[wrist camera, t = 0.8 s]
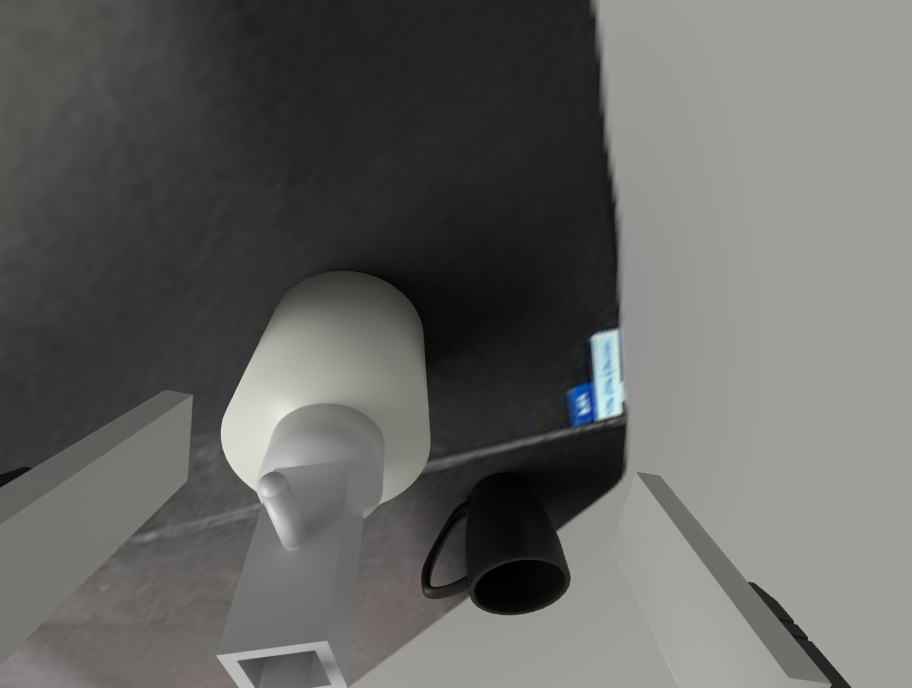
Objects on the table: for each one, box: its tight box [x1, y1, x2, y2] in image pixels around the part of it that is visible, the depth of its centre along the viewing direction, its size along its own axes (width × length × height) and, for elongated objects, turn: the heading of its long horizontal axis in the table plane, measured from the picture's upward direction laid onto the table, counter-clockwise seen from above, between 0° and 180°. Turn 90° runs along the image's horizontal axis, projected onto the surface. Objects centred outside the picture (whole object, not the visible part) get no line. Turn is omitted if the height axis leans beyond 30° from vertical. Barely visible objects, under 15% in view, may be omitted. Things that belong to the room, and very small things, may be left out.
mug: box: [421, 473, 571, 615], centre depth 42 cm, size 8×12×10 cm
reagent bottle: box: [216, 271, 430, 688], centre depth 26 cm, size 11×11×22 cm
